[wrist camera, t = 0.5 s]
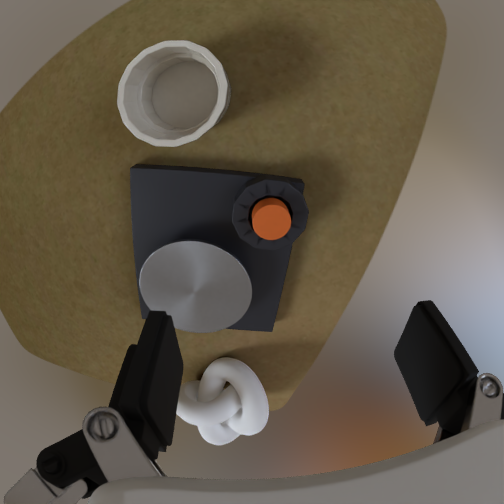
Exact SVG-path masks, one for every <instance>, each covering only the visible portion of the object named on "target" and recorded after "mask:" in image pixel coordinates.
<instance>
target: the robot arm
mask: <svg viewBox="0 0 504 504" xmlns="http://www.w3.org/2000/svg"><path fill="white" fill-rule="evenodd" d="M394 357H395V360H396V362H397V364H398V366H399V369H400V371H401V373H402V375H403V378H404V380H405V382H406V385H407V387H408V389H409V392H410V394H411V396H412V399H413V401H414V404H415V406H416V409H417V411H418V414H419V416H420V418H421V420H423V421H424V422H425V424H426V426H428V425H431V424H434V423H436V422H437V421H438V423H439V428H438V431H437V434H436V437H435V440H434V443H433V444H432V445H430V446H427V447H424V448H422V449H418V450H415V451H413V452H410V453H407V454H403V455H400V456H397V457H393V458H390V459H387V460H383V461H379V462H375V463H372V464H367V465H363V466H358V467H354V468H349V469H344V470H339V471H333V472H327V473H321V474H313V475H306V476H298V477H287V478H273V479H249V480H220V479H197V478H179V477H167V475H166V474H165V473H164V471H163V470H162V469H161V467H160V466H159V465H158V463H157V462H156V461H155V459H157V458H158V452H159V451H162V452H166V447H167V445H168V446H170V445H171V444H172V438H173V432H174V424H175V418H176V411H177V405H178V398H179V392H180V386H181V380H182V374H183V360H182V356H181V353H180V349H179V345H178V341H177V337H176V332H175V328H174V324H173V320H172V316H171V315H167V313H166V311H153V310H151V311H149V313H148V316H147V319H146V321H145V324H144V327H143V330H142V332H141V335H140V338H139V341H138V344H137V345H135V344H131V345H130V346H129V348H128V350H127V353H126V356H125V358H124V361H123V364H122V367H121V370H120V373H119V376H118V379H117V382H116V385H115V388H114V391H113V394H112V397H111V400H110V403H109V407H98V408H95V409H93V410H91V411H90V412H89V413H88V414H87V415H86V416H85V418H84V420H83V427H82V428H83V429H82V430H80V431H78V432H76V433H74V434H72V435H70V436H68V437H67V438H65V439H63V440H61V441H59V442H57V443H55V444H53V445H51V446H49V447H47V448H45V449H44V450H42V451H41V452H40V454H39V455H38V458H37V467H36V468H35V469H34V470H33V469H32V468H31V469H30V470H29V471H28V472H27V473H26V474H25V475H24V476H23V477H22V478H21V479H20V480H19V481H18V482H17V483H16V484H15V485H14V486H13V487H12V488H11V489H10V490H9V491H8V492H7V493H6V495H5V496H4V504H76V503H77V502H78V501H79V500H80V499H81V498H84V499H85V498H88V497H90V496H91V497H90V499H89V501H88V503H87V504H504V393H503V387H502V384H501V382H500V381H499V379H498V378H497V377H496V376H494V375H492V374H490V373H483V374H481V375H480V376H479V377H477V374H478V372H479V371H478V369H477V367H476V366H475V364H474V363H473V361H472V359H471V358H470V356H469V354H468V353H467V351H466V350H465V348H464V346H463V345H462V343H461V342H460V340H459V339H458V337H457V336H456V334H455V333H454V331H453V330H452V328H451V327H450V325H449V324H448V322H447V321H446V320H445V318H444V317H443V315H442V314H441V312H440V311H439V310H438V308H437V307H436V306H435V304H434V303H433V302H432V301H431V300H428V301H420V302H418V303H417V305H416V306H414V308H413V310H412V312H411V315H410V317H409V319H408V322H407V324H406V326H405V329H404V331H403V333H402V335H401V338H400V340H399V342H398V344H397V346H396V349H395V351H394Z"/></svg>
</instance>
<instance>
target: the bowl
mask: <svg viewBox="0 0 504 504" xmlns="http://www.w3.org/2000/svg"><path fill="white" fill-rule="evenodd" d="M230 97H231V85H230V82H229V79H228V76H227V73H226V71H225V69H224V68H223V66H222V64H221V63H220V62H219V61H218V60H217V58H216V57H215V56H214V55H213V54H212V53H211V52H210V51H209V50H208V49H207V48H205V47H203V46H200V45H198V44H195V43H193V42H190V41H187V40H175V41H163V42H161V43H158V44H156V45H153V46H151V47H149V48H146V49H145V50H143V51H142V52H141V53H140V54H139V55H138V56H137V57H136V58H135V59H133V60H132V61H131V62H130V63H129V65H128V66H127V68H126V70H125V72H124V74H123V76H122V78H121V80H120V82H119V86H118V98H117V105H118V109H119V112H120V115H121V118H122V121H123V123H124V124H125V125H126V127H127V128H128V129H129V130H130V131H131V132H132V133H133V134H134V135H135V137H137V138H138V139H141V140H143V141H145V142H147V143H149V144H151V145H154V146H168V147H177V146H180V145H183V144H185V143H188V142H191V141H194V140H196V139H198V138H199V137H201V136H202V135H203V134H205V133H206V132H207V131H208V130H210V129H211V128H212V127H213V126H215V125H216V124H217V123H218V122H220V120H221V119H222V117H223V116H224V114H225V112H226V111H227V109H228V107H229V104H230Z"/></svg>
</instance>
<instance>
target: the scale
mask: <svg viewBox="0 0 504 504" xmlns="http://www.w3.org/2000/svg"><path fill="white" fill-rule="evenodd" d="M130 184H131V215H132V232H133V246H134V257H135V267H136V277H137V285H138V293H139V301H140V308H141V314H142V319H147V316H148V313H149V311H151V310H150V309H149V307H148V306H147V304H146V303H145V301H144V299H143V297H142V294H141V290H140V281H139V280H140V273H141V269H142V267H143V265H144V263H145V261H146V259H147V258H148V257H149V255H150V254H151V253H152V252H153V251H155V250H156V249H157V248H159V247H160V246H162V245H164V244H166V243H169V242H172V241H176V240H181V239H198V240H204V241H208V242H212V243H214V244H217V245H219V246H221V247H223V248H225V249H227V250H228V251H229V252H231V253H232V254H234V255H235V256H236V257H237V258H238V259H239V260H240V261H241V263H242V264H243V265H244V267H245V268H246V270H247V272H248V274H249V276H250V280H251V283H252V298H251V302H250V305H249V307H248V309H247V311H246V313H245V314H244V315H243V316H242V318H241V319H239V320H238V321H237V322H236V323H234V324H233V325H231V326H229V327H227V328H226V329H238V330H251V331H266V332H272V331H273V327H274V322H275V318H276V314H277V310H278V306H279V302H280V297H281V293H282V289H283V284H284V280H285V276H286V271H287V267H288V262H289V258H290V253H291V248H292V244H293V242H294V241H295V240H296V239H297V238H298V237H299V236H300V234H301V233H302V232H303V231H304V229H305V227H306V222H307V218H308V213H309V210H308V208H307V205H306V202H305V199H304V197H303V190H304V185H305V184H304V182H303V181H302V179H297V178H290V177H283V176H276V175H268V174H259V173H250V172H241V171H232V170H221V169H210V168H198V167H183V166H166V165H144V164H136V165H134V166H133V167H131V168H130ZM266 198H276V199H279V200H280V201H282V202H283V203H284V204H285V205H286V207H287V209H288V211H289V214H290V217H291V226H290V229H289V231H288V232H287V233H286V234H285V235H284V236H283V237H281V238H279V239H276V240H267V239H264V238H261V237H260V236H258V235H257V234H256V232H255V231H254V229H253V224H252V211H253V208H254V207H255V205H256V204H257V203H258V202H259V201H261V200H263V199H266Z"/></svg>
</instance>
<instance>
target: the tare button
mask: <svg viewBox="0 0 504 504" xmlns="http://www.w3.org/2000/svg"><path fill="white" fill-rule="evenodd" d="M252 224H253V229H254V231H255V232H256V234H257V235H258V236H260V237H261V238H264V239H267V240H276V239H279V238H281V237H283V236H284V235H285V234H286V233H287V232H288V231H289V229H290V226H291V217H290V214H289V211H288V209H287V207H286V205H285V204H284V203H283V202H282V201H280V200H279V199H276V198H266V199H263V200H261V201H259V202H258V203H257V204H256V205H255V207H254V208H253V211H252Z"/></svg>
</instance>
